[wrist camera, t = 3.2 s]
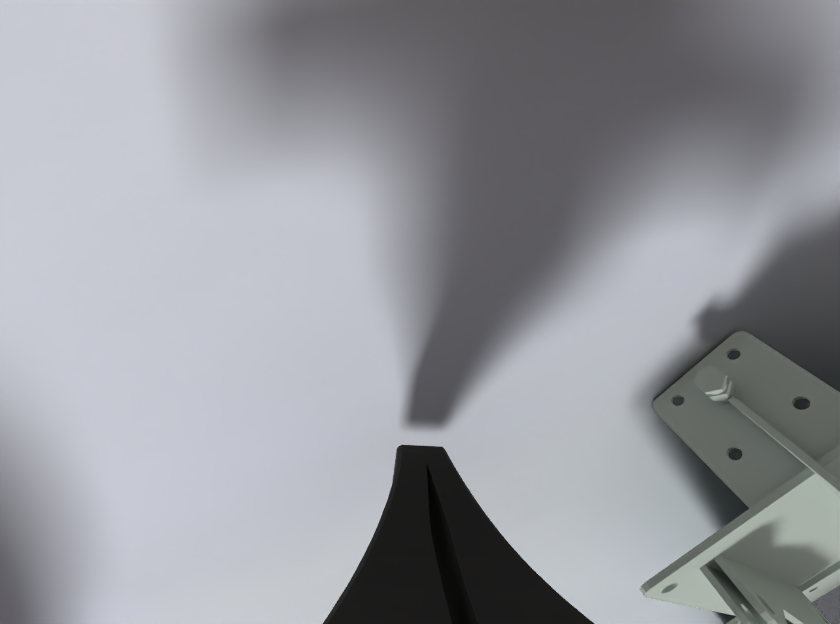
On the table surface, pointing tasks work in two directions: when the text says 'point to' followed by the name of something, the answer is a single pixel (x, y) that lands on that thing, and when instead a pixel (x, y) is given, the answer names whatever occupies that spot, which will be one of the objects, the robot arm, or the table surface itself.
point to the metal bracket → (759, 486)
